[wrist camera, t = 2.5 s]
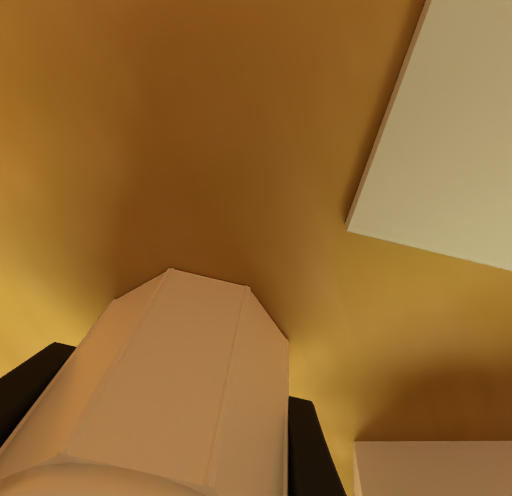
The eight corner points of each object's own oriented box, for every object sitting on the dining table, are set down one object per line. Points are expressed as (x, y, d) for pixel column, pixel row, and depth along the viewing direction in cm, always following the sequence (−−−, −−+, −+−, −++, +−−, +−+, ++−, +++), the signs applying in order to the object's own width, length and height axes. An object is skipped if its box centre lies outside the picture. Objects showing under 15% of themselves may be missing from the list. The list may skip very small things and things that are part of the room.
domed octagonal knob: (304, 298, 10) (319, 557, 5) (261, 425, 13) (238, 692, 7) (114, 253, 10) (-87, 468, 5) (106, 390, 12) (-33, 635, 7)
